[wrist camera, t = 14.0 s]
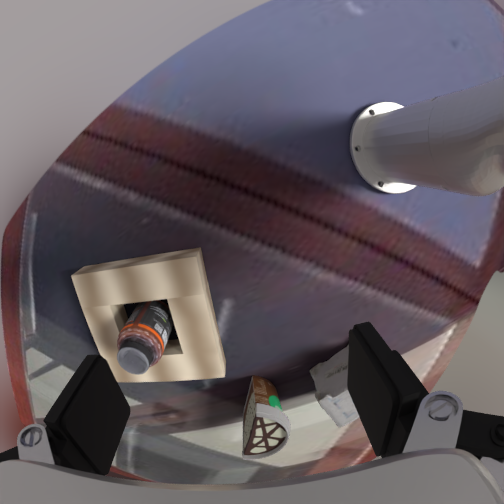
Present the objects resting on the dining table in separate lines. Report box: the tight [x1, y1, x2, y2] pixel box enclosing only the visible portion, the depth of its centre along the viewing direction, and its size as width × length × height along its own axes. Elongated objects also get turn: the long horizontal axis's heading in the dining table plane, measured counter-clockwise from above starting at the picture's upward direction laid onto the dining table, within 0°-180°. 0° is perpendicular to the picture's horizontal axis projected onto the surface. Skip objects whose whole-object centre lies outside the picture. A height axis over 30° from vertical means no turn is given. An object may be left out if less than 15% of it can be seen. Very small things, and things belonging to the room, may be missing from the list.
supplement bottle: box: [117, 300, 174, 375], centre depth 35 cm, size 6×6×11 cm
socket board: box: [71, 247, 226, 382], centre depth 38 cm, size 18×18×4 cm
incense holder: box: [310, 344, 359, 427], centre depth 39 cm, size 10×8×10 cm
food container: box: [242, 375, 291, 460], centre depth 40 cm, size 12×6×10 cm, turn 170°
